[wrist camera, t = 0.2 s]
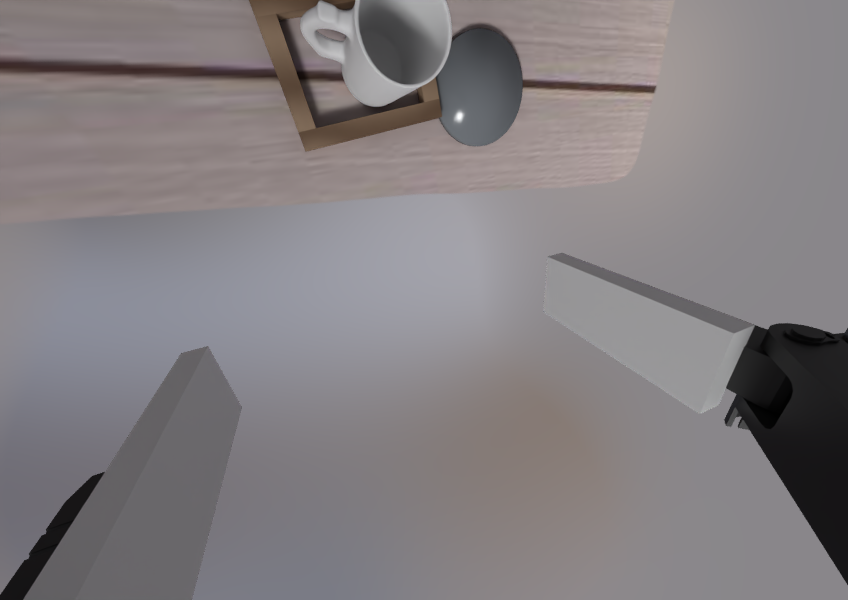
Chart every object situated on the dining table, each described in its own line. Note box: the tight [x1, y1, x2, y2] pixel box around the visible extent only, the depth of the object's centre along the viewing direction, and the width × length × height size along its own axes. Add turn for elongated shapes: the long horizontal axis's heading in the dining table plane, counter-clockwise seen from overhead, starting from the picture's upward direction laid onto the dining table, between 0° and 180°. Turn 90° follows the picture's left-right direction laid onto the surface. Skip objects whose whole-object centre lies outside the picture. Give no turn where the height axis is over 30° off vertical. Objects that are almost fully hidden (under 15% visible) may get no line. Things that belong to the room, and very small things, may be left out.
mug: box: [300, 0, 452, 107], centre depth 25 cm, size 10×7×12 cm, turn 82°
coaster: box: [436, 28, 523, 146], centre depth 34 cm, size 11×11×1 cm
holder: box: [249, 0, 442, 151], centre depth 29 cm, size 12×15×2 cm
